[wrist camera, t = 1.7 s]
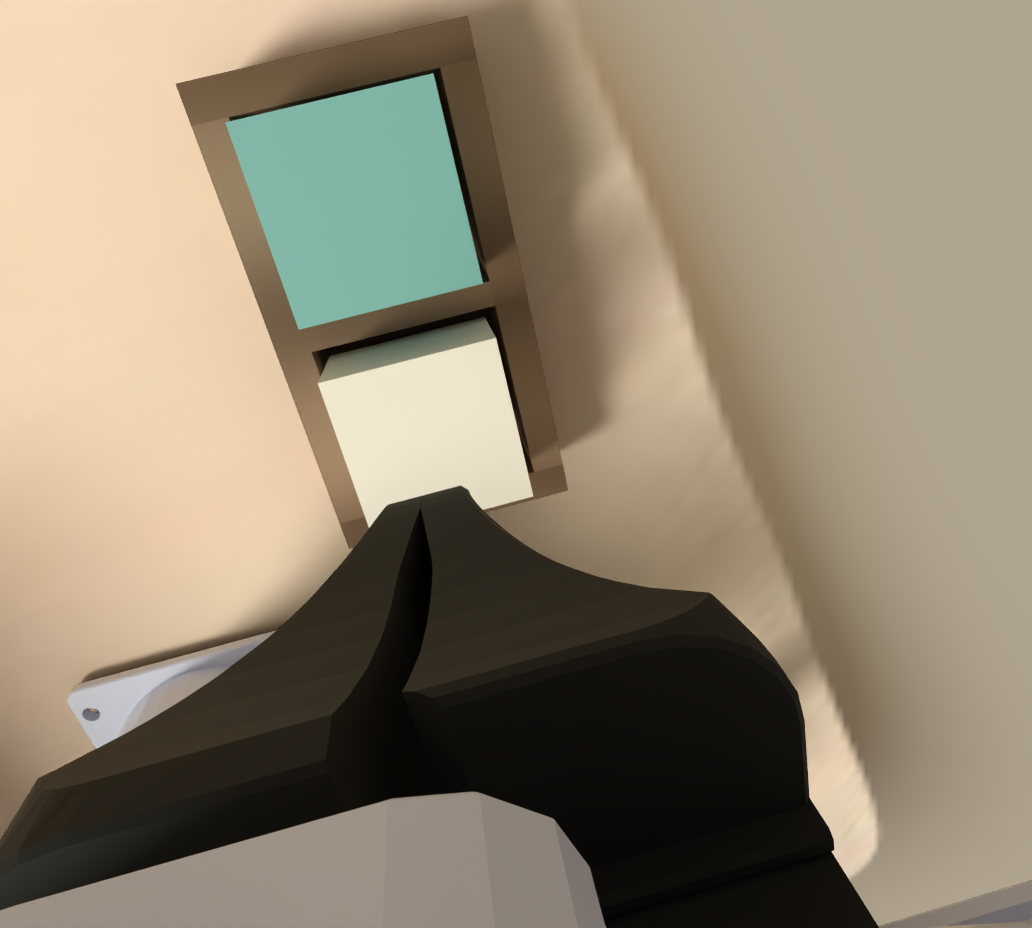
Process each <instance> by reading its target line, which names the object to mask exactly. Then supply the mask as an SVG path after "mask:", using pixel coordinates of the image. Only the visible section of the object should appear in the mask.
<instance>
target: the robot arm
mask: <svg viewBox="0 0 1032 928" xmlns="http://www.w3.org/2000/svg"><path fill="white" fill-rule="evenodd" d="M67 703H68V706H69V707H70V709H71V711H72V712H73V714H74V715H75V717H76V718H77V720H78V721H79V723H80V725H81V726H82V728H83V729H84V731H85V732H86V734H87V736H88V737H89V739H90V740H91V742H92V743H93V745H94V747H95V748H96V749H95V750H93V751H91V752H89V753H87V754H85V755H84V756H82V757H80V758H78V759H76V760H74V761H72V762H70V763H68V764H66V765H64V766H63V767H61V768H59V769H57V770H55V771H53V772H50V773H48V774H46V775H44V776H42V777H40V778H38V780H37V781H36V783H35V784H34V786H33V788H32V789H31V791H30V793H29V794H28V796H27V797H26V799H25V801H24V802H23V804H22V806H21V807H20V809H19V810H18V812H17V814H16V815H15V817H14V819H13V820H12V822H11V823H10V825H9V827H8V828H7V830H6V832H5V833H4V835H3V836H2V838H1V840H0V928H1032V880H1030V881H1026V882H1023V883H1020V884H1016V885H1013V886H1010V887H1006V888H1003V889H1000V890H997V891H993V892H990V893H987V894H983V895H980V896H977V897H973V898H971V899H967V900H964V901H960V902H957V903H953V904H950V905H947V906H944V907H940V908H937V909H934V910H930V911H927V912H924V913H920V914H917V915H914V916H910V917H907V918H904V919H901V920H897V921H894V922H891V923H887V924H884V925H881V926H878V925H877V924H876V922H875V921H874V919H873V918H872V916H871V914H870V913H869V911H868V909H867V908H866V906H865V905H864V903H863V901H862V900H861V898H860V897H859V895H858V893H857V892H856V890H855V889H854V887H853V885H852V884H851V882H850V881H849V879H848V877H847V876H846V874H845V873H844V871H843V869H842V868H841V866H840V865H839V863H838V861H837V860H836V858H835V857H834V855H833V853H832V852H831V851H833V850H834V840H833V837H832V835H831V832H830V829H829V827H828V826H827V824H826V823H825V821H824V820H823V818H822V817H821V815H820V814H819V812H818V810H817V809H816V807H815V806H814V804H813V803H812V801H811V800H810V798H809V785H808V769H807V754H806V738H805V723H804V717H803V713H802V709H801V705H800V700H799V696H798V692H797V691H796V689H795V688H794V686H793V685H792V683H791V682H790V680H789V679H788V677H787V676H786V674H785V673H784V671H783V670H782V668H781V667H780V665H779V664H778V663H777V661H776V660H775V658H774V657H773V656H772V655H771V654H770V652H769V651H768V650H767V649H766V647H765V646H764V645H763V644H762V643H761V642H760V641H759V639H758V638H757V637H756V636H755V635H754V634H753V633H752V632H751V631H750V630H749V629H748V628H747V627H746V626H745V625H744V624H743V623H742V622H741V621H740V620H739V619H738V618H736V617H735V616H734V615H733V614H732V613H731V612H730V611H729V610H728V609H727V608H726V607H725V606H724V605H723V604H722V603H721V602H720V601H719V600H718V599H717V598H715V597H714V596H713V595H712V594H711V593H706V592H694V591H682V590H670V589H657V588H648V587H642V586H637V585H632V584H627V583H621V582H616V581H612V580H608V579H604V578H600V577H597V576H593V575H590V574H587V573H584V572H581V571H578V570H575V569H573V568H570V567H567V566H564V565H562V564H560V563H557V562H555V561H553V560H551V559H549V558H547V557H545V556H543V555H541V554H539V553H537V552H536V551H534V550H532V549H531V548H529V547H528V546H526V545H525V544H523V543H522V542H520V541H519V540H518V539H516V538H515V537H513V536H512V535H511V534H509V533H508V532H507V531H506V530H504V529H503V528H502V527H501V526H500V525H499V524H497V523H496V522H495V521H494V520H493V519H492V518H491V517H489V516H488V515H487V514H486V513H485V512H484V511H483V510H482V508H481V507H480V506H479V505H478V504H477V503H476V502H475V500H474V499H473V498H472V496H471V495H470V492H469V490H468V489H466V488H464V487H463V486H461V485H460V486H457V487H453V488H449V489H445V490H441V491H438V492H434V493H430V494H426V495H423V496H419V497H415V498H411V499H407V500H404V501H400V502H396V503H392V504H389V505H387V506H386V507H385V508H384V509H383V511H382V512H381V513H380V514H379V516H378V517H377V518H376V520H375V521H374V522H373V524H372V525H371V526H370V528H369V529H368V530H367V532H366V533H365V534H364V536H363V537H362V538H361V540H360V541H359V542H358V543H357V545H356V546H355V547H354V549H353V550H352V551H351V552H350V554H349V555H348V556H347V558H346V559H345V560H344V561H343V562H342V564H341V565H340V566H339V567H338V568H337V569H336V570H335V571H334V573H333V574H332V575H331V576H330V577H329V578H328V579H327V581H326V582H325V583H324V584H323V585H322V586H321V587H320V588H319V590H318V591H317V592H316V593H315V594H314V595H313V596H312V597H311V598H310V599H309V600H308V601H307V602H306V603H305V604H304V605H303V606H302V607H301V608H300V609H299V610H298V611H297V612H296V613H295V614H294V615H293V616H292V617H291V618H290V619H289V620H287V621H286V622H285V623H284V624H283V625H282V626H281V627H280V628H279V629H277V630H275V631H272V632H268V633H264V634H261V635H257V636H253V637H250V638H246V639H242V640H238V641H235V642H231V643H227V644H224V645H220V646H216V647H213V648H209V649H205V650H202V651H198V652H194V653H190V654H187V655H183V656H179V657H176V658H172V659H168V660H165V661H161V662H157V663H153V664H150V665H146V666H142V667H139V668H135V669H131V670H128V671H124V672H120V673H117V674H113V675H109V676H105V677H102V678H98V679H94V680H91V681H87V682H83V683H80V684H78V685H76V686H75V687H74V688H73V689H72V691H71V692H70V694H69V695H68V698H67ZM89 708H94V709H97V710H98V711H99V712H93V711H91V710H90V709H89Z"/></svg>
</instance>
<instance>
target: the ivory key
mask: <svg viewBox="0 0 1032 928" xmlns="http://www.w3.org/2000/svg"><path fill="white" fill-rule="evenodd" d="M318 386H319V388H320V391H321V394H322V397H323V400H324V402H325V405H326V408H327V411H328V414H329V417H330V419H331V422H332V425H333V428H334V431H335V433H336V436H337V439H338V442H339V445H340V448H341V450H342V453H343V456H344V459H345V462H346V465H347V467H348V470H349V473H350V476H351V479H352V481H353V484H354V487H355V490H356V493H357V496H358V498H359V501H360V504H361V507H362V510H363V512H364V515H365V518H366V521H367V524H368V527H369V528H370V526H371V525H372V524H373V522H374V521H375V520H376V518H377V517H378V516H379V514H380V513H381V512H382V511H383V509H384V508H385V507H386V506H387V505H389V504H392V503H396V502H400V501H404V500H407V499H411V498H415V497H419V496H423V495H426V494H430V493H434V492H438V491H441V490H445V489H449V488H453V487H457V486H460V485H461V486H463V487H464V488H466V489H468V490H469V492H470V495H471V496H472V498H473V499H474V500H475V502H476V503H477V504H478V505H479V506H480V507H481V508H482V510H484V509H488V508H492V507H496V506H499V505H503V504H507V503H511V502H514V501H518V500H522V499H526V498H529V497H533V492H532V488H531V484H530V480H529V475H528V471H527V467H526V463H525V458H524V454H523V450H522V446H521V442H520V437H519V433H518V429H517V425H516V420H515V416H514V412H513V408H512V403H511V399H510V395H509V391H508V387H507V382H506V378H505V374H504V370H503V365H502V361H501V357H500V353H499V349H498V344H497V340H496V337H495V335H494V333H493V331H492V330H491V328H490V326H489V324H488V322H487V320H486V319H485V317H482V318H478V319H474V320H470V321H466V322H462V323H458V324H454V325H450V326H447V327H443V328H439V329H435V330H431V331H427V332H423V333H419V334H415V335H411V336H407V337H403V338H399V339H395V340H391V341H387V342H383V343H379V344H376V345H372V346H368V347H364V348H360V349H356V350H352V351H348V352H344V353H340V354H336V355H332V356H330V357H329V359H328V361H327V364H326V366H325V368H324V370H323V373H322V375H321V377H320V379H319V382H318Z"/></svg>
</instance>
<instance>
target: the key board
mask: <svg viewBox="0 0 1032 928" xmlns="http://www.w3.org/2000/svg"><path fill="white" fill-rule="evenodd" d="M432 73H433V74H434V78H435V82H436V84H437V88H438V93H439V97H440V101H441V105H442V110H443V114H444V118H445V122H446V126H447V131H448V135H449V139H450V143H451V148H452V152H453V156H454V160H455V165H456V169H457V173H458V177H459V182H460V186H461V190H462V194H463V198H464V203H465V207H466V211H467V215H468V220H469V224H470V228H471V232H472V237H473V241H474V245H475V249H476V253H477V258H478V262H479V266H480V272H481V277H482V281H483V284H479V285H475V286H471V287H467V288H463V289H459V290H455V291H451V292H447V293H443V294H439V295H435V296H431V297H427V298H423V299H420V300H416V301H412V302H408V303H404V304H400V305H396V306H392V307H388V308H384V309H380V310H376V311H372V312H368V313H364V314H360V315H356V316H352V317H348V318H344V319H340V320H336V321H332V322H328V323H324V324H320V325H316V326H312V327H308V328H304V329H300V330H299V329H298V326H297V323H296V321H295V318H294V315H293V312H292V309H291V307H290V304H289V301H288V298H287V295H286V292H285V290H284V287H283V284H282V281H281V278H280V276H279V273H278V270H277V267H276V264H275V261H274V259H273V256H272V253H271V250H270V247H269V244H268V242H267V239H266V236H265V233H264V230H263V228H262V225H261V222H260V219H259V216H258V213H257V211H256V208H255V205H254V202H253V199H252V197H251V194H250V191H249V188H248V185H247V182H246V180H245V177H244V174H243V171H242V168H241V166H240V163H239V160H238V157H237V154H236V151H235V149H234V146H233V143H232V140H231V137H230V134H229V132H228V129H227V126H226V123H225V122H229V121H234V120H238V119H242V118H246V117H251V116H255V115H259V114H263V113H267V112H272V111H276V110H280V109H284V108H289V107H293V106H297V105H301V104H305V103H310V102H314V101H318V100H322V99H327V98H331V97H335V96H339V95H344V94H348V93H352V92H356V91H360V90H365V89H369V88H373V87H377V86H382V85H386V84H390V83H394V82H398V81H403V80H407V79H411V78H415V77H420V76H424V75H428V74H432ZM176 86H177V89H178V91H179V94H180V97H181V99H182V102H183V105H184V107H185V110H186V113H187V116H188V118H189V121H190V124H191V126H192V129H193V132H194V134H195V137H196V140H197V142H198V145H199V148H200V150H201V153H202V156H203V158H204V161H205V164H206V166H207V169H208V172H209V174H210V177H211V180H212V182H213V185H214V188H215V191H216V193H217V196H218V199H219V201H220V204H221V207H222V209H223V212H224V215H225V217H226V220H227V223H228V225H229V228H230V231H231V233H232V236H233V239H234V241H235V244H236V247H237V249H238V252H239V255H240V257H241V260H242V263H243V266H244V268H245V271H246V274H247V276H248V279H249V282H250V284H251V287H252V290H253V292H254V295H255V298H256V300H257V303H258V306H259V308H260V311H261V314H262V316H263V319H264V322H265V324H266V327H267V330H268V332H269V335H270V338H271V341H272V343H273V346H274V349H275V351H276V354H277V357H278V359H279V362H280V365H281V367H282V370H283V373H284V375H285V378H286V381H287V383H288V386H289V389H290V391H291V394H292V397H293V399H294V402H295V405H296V407H297V410H298V413H299V415H300V418H301V421H302V424H303V426H304V429H305V432H306V434H307V437H308V440H309V442H310V445H311V448H312V450H313V453H314V456H315V458H316V461H317V464H318V466H319V469H320V472H321V474H322V477H323V480H324V482H325V485H326V488H327V490H328V493H329V496H330V499H331V501H332V504H333V507H334V509H335V512H336V515H337V517H338V520H339V523H340V525H341V528H342V531H343V533H344V536H345V539H346V541H347V544H348V547H349V549H350V548H353V547H355V546H356V545H357V543H358V542H359V541H360V540H361V538H362V537H363V536H364V534H365V533H366V532H367V530H368V529H369V527H368V524H367V521H366V518H365V515H364V512H363V510H362V507H361V504H360V501H359V498H358V496H357V493H356V490H355V487H354V484H353V481H352V479H351V476H350V473H349V470H348V467H347V465H346V462H345V459H344V456H343V453H342V450H341V448H340V445H339V442H338V439H337V436H336V433H335V431H334V428H333V425H332V422H331V419H330V417H329V414H328V411H327V408H326V405H325V402H324V400H323V397H322V394H321V391H320V388H319V386H318V382H319V379H320V377H321V375H322V373H323V370H324V368H325V366H326V364H327V361H328V359H329V357H330V356H331V353H330V350H329V348H330V347H334V346H338V345H342V344H346V343H350V342H354V341H358V340H362V339H366V338H370V337H374V336H378V335H382V334H386V333H389V332H393V331H397V330H401V329H405V328H409V327H413V326H417V325H421V324H425V323H429V322H433V321H437V320H441V319H445V318H449V317H453V316H457V315H461V314H465V313H469V312H473V311H476V310H480V309H484V308H488V307H489V308H490V313H491V317H492V321H493V325H494V330H495V334H496V338H497V342H498V347H499V351H500V355H501V359H502V363H503V368H504V372H505V376H506V380H507V385H508V389H509V393H510V397H511V402H512V406H513V410H514V414H515V418H516V423H517V427H518V431H519V435H520V442H521V446H522V450H523V454H524V458H525V463H526V467H527V471H528V475H529V480H530V484H531V488H532V492H533V497H529V498H526V499H522V500H518V501H514V502H511V503H507V504H503V505H499V506H496V507H492V508H488V509H484V510H483V511H484V512H488V511H492V510H496V509H500V508H503V507H507V506H511V505H515V504H518V503H522V502H526V501H530V500H533V499H537V498H541V497H545V496H548V495H552V494H556V493H560V492H563V491H567V490H568V487H567V483H566V478H565V473H564V469H563V464H562V459H561V455H560V450H559V445H558V440H557V436H556V431H555V426H554V422H553V417H552V412H551V407H550V403H549V398H548V393H547V389H546V384H545V379H544V375H543V370H542V365H541V360H540V356H539V351H538V346H537V342H536V337H535V332H534V327H533V323H532V318H531V313H530V309H529V304H528V299H527V295H526V290H525V285H524V280H523V276H522V271H521V266H520V262H519V257H518V252H517V247H516V243H515V238H514V233H513V229H512V224H511V219H510V215H509V210H508V205H507V200H506V196H505V191H504V186H503V182H502V177H501V172H500V167H499V163H498V158H497V153H496V149H495V144H494V139H493V135H492V130H491V125H490V120H489V116H488V111H487V106H486V102H485V97H484V92H483V87H482V83H481V78H480V73H479V69H478V64H477V59H476V55H475V50H474V45H473V40H472V36H471V31H470V26H469V22H468V17H467V16H465V17H460V18H456V19H452V20H447V21H443V22H439V23H435V24H430V25H426V26H422V27H417V28H413V29H409V30H405V31H400V32H396V33H392V34H387V35H383V36H379V37H374V38H370V39H366V40H362V41H357V42H353V43H349V44H344V45H340V46H336V47H332V48H327V49H323V50H319V51H314V52H310V53H306V54H302V55H297V56H293V57H289V58H284V59H280V60H276V61H272V62H267V63H263V64H259V65H254V66H250V67H246V68H242V69H237V70H233V71H229V72H224V73H220V74H216V75H212V76H207V77H203V78H199V79H194V80H190V81H186V82H182V83H177V84H176Z"/></svg>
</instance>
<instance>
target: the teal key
mask: <svg viewBox="0 0 1032 928" xmlns="http://www.w3.org/2000/svg"><path fill="white" fill-rule="evenodd" d="M225 123H226V126H227V129H228V132H229V134H230V137H231V140H232V143H233V146H234V149H235V151H236V154H237V157H238V160H239V163H240V166H241V168H242V171H243V174H244V177H245V180H246V182H247V185H248V188H249V191H250V194H251V197H252V199H253V202H254V205H255V208H256V211H257V213H258V216H259V219H260V222H261V225H262V228H263V230H264V233H265V236H266V239H267V242H268V244H269V247H270V250H271V253H272V256H273V259H274V261H275V264H276V267H277V270H278V273H279V276H280V278H281V281H282V284H283V287H284V290H285V292H286V295H287V298H288V301H289V304H290V307H291V309H292V312H293V315H294V318H295V321H296V323H297V326H298V329H299V330H300V329H304V328H308V327H312V326H316V325H320V324H324V323H328V322H332V321H336V320H340V319H344V318H348V317H352V316H356V315H360V314H364V313H368V312H372V311H376V310H380V309H384V308H388V307H392V306H396V305H400V304H404V303H408V302H412V301H416V300H420V299H423V298H427V297H431V296H435V295H439V294H443V293H447V292H451V291H455V290H459V289H463V288H467V287H471V286H475V285H479V284H483V281H482V277H481V272H480V268H479V264H478V260H477V256H476V251H475V247H474V243H473V239H472V234H471V230H470V226H469V222H468V217H467V213H466V209H465V205H464V201H463V196H462V192H461V188H460V184H459V179H458V175H457V171H456V167H455V163H454V158H453V154H452V150H451V146H450V141H449V137H448V133H447V129H446V125H445V120H444V116H443V112H442V108H441V103H440V99H439V95H438V91H437V86H436V82H435V78H434V74H433V73H432V74H428V75H424V76H420V77H415V78H411V79H407V80H403V81H398V82H394V83H390V84H386V85H382V86H377V87H373V88H369V89H365V90H360V91H356V92H352V93H348V94H344V95H339V96H335V97H331V98H327V99H322V100H318V101H314V102H310V103H305V104H301V105H297V106H293V107H289V108H284V109H280V110H276V111H272V112H267V113H263V114H259V115H255V116H251V117H246V118H242V119H238V120H234V121H229V122H225Z"/></svg>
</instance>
